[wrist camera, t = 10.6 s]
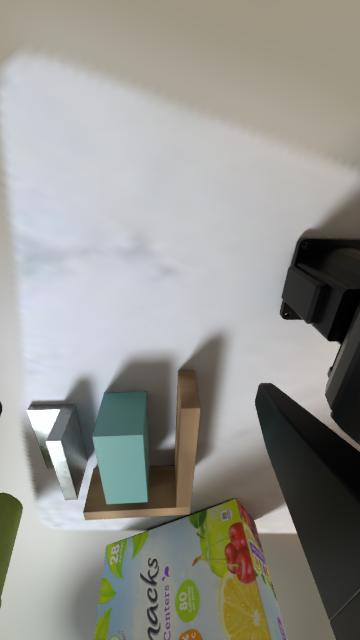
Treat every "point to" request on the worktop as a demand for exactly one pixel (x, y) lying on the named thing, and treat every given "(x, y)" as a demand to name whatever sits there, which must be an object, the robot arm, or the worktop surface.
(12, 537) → the plant pot
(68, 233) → the worktop surface
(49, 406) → the bookend
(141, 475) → the teal rectangular block
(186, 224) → the worktop surface
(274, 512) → the worktop surface
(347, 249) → the robot arm
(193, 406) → the tan wooden l-shaped piece
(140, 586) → the snack box
